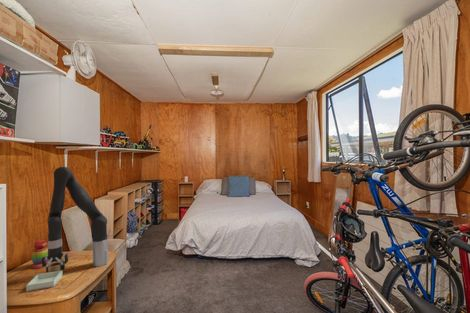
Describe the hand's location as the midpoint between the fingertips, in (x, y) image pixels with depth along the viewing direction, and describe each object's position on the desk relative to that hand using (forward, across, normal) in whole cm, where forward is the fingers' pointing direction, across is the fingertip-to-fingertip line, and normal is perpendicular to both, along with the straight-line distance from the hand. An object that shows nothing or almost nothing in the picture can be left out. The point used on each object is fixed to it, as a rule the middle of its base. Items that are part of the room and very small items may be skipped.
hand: (55, 271), depth 148 cm
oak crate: (+1, 0, 0) cm, 1 cm away
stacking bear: (+2, +15, -18) cm, 23 cm away
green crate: (+1, +1, +12) cm, 12 cm away
